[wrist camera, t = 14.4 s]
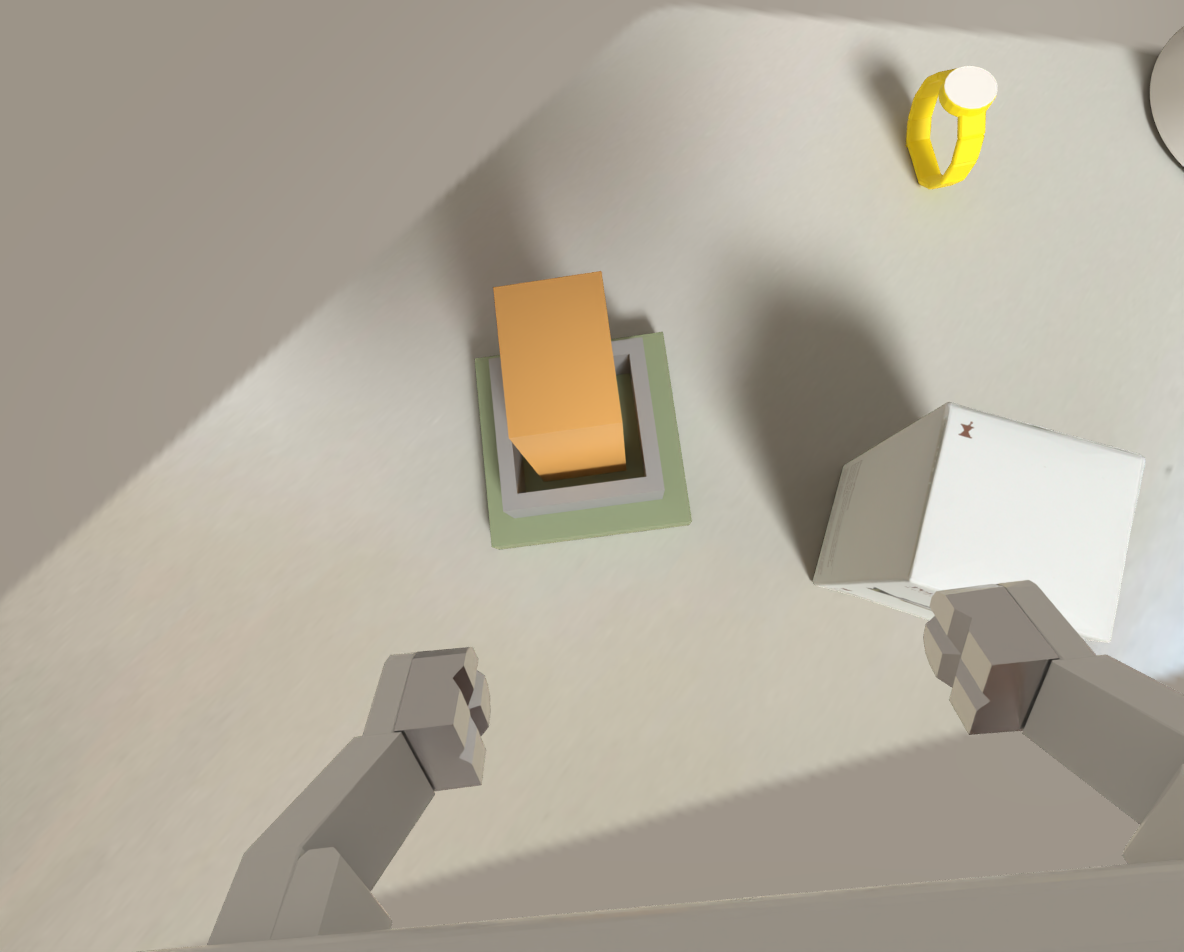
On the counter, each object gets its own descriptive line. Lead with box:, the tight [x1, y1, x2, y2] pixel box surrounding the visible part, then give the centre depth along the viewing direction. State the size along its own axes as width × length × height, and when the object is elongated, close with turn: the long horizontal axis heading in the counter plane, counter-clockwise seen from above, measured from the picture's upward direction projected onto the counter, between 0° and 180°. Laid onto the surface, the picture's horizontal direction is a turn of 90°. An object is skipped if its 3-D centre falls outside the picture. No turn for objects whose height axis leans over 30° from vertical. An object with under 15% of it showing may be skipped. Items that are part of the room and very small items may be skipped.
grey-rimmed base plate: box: [475, 332, 692, 550], centre depth 35 cm, size 11×11×5 cm
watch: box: [906, 66, 998, 189], centre depth 37 cm, size 6×3×6 cm, turn 10°
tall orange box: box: [493, 271, 626, 482], centre depth 31 cm, size 7×5×10 cm
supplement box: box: [813, 402, 1146, 643], centre depth 29 cm, size 7×7×13 cm
